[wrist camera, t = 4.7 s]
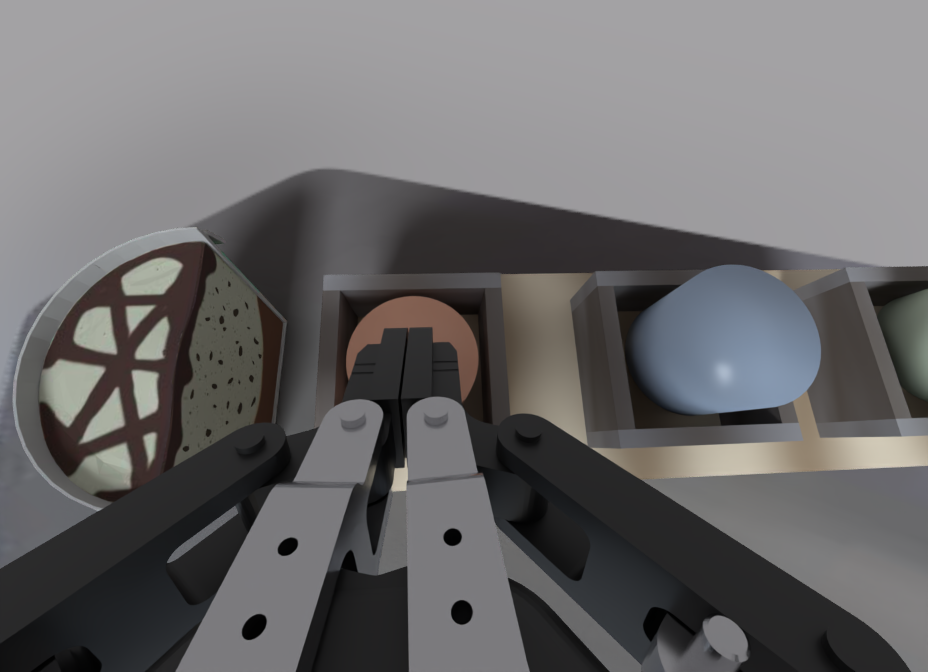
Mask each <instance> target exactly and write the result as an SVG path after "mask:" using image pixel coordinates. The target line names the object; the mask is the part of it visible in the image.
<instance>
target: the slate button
mask: <svg viewBox="0 0 928 672" xmlns="http://www.w3.org/2000/svg"><path fill="white" fill-rule="evenodd" d="M625 354H626V361H627V365H628V368H629V371H630V374H631V376H632V378H633V380H634V381H635V383H636V384H637V386H638V387H639V389H640V390H641V391H642V392H643V393H644V394H645V395H646V396H647V397H648V398H649V399H650V400H651V401H653V402H654V403H655V404H657V405H658V406H660V407H662V408H663V409H666V410H668V411H670V412H673V413H676V414H680V415H686V416H697V415H706V414H715V413H725V412H734V411H743V410H752V409H761V408H770V407H777V406H781V405H785V404H787V403H789V402H792V401H794V400H795V399H797V398H798V397H800V396H801V395H802V394H803V393H804V392H805V391H807V389H808V388H809V387H810V386H811V384H812V383H813V381H814V379H815V377H816V375H817V372H818V369H819V366H820V360H821V344H820V338H819V333H818V330H817V327H816V324H815V321H814V319H813V317H812V315H811V313H810V312H809V310H808V309H807V307H806V305H805V304H804V303H803V301H802V300H801V299H800V298H799V296H798V295H797V294H796V293H795V292H794V291H793V290H792V289H791V288H789V287H788V286H787V285H786V284H785V283H783V282H782V281H780V280H779V279H777V278H776V277H774V276H772V275H770V274H768V273H766V272H764V271H762V270H759V269H756V268H753V267H749V266H743V265H721V266H716V267H712V268H710V269H707V270H705V271H703V272H701V273H699V274H698V275H696V276H695V277H693V278H692V279H690V280H689V281H687V282H686V283H684V284H683V285H681V286H680V287H678V288H677V289H675V290H674V291H672V292H671V293H669V294H668V295H666V296H665V297H663V298H662V299H660V300H659V301H657V302H656V303H654V304H653V305H651V306H650V307H648V308H646V309H645V310H644V311H642V312H641V313H640V314H639V315H638V316H637V317H636V318H635V320H634V321H633V323H632V324H631V326H630V328H629V331H628V334H627V337H626V343H625Z"/></svg>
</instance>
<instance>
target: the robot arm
mask: <svg viewBox="0 0 928 672" xmlns="http://www.w3.org/2000/svg"><path fill="white" fill-rule="evenodd" d="M405 458H406V459H407V468H408V481H407V484H406V497H407V566H406V567H403V568H400V569H397V570H394V571H391V572H388V573H385V574H381V575H378V569H379V562H380V557H381V552H382V547H383V542H384V537H385V531H386V526H387V521H388V516H389V511H390V506H391V501H392V496H393V490H392V485H393V480H394V471H395V468H405ZM234 506H236V508H237V510H238V514H237V515H236V516H234V517H233V518H232V519H230V520H229V521H228V522H226V523H225V524H224V525H222V526H221V527H220V528H218V529H217V530H216V531H214V532H213V533H212V534H210V535H209V536H208V537H206V538H205V539H204V540H202V541H201V542H200V543H198V544H197V545H196V546H194V547H193V548H192V549H190V550H189V551H188V552H186V553H185V554H184V555H182V556H181V557H180V558H178V559H176V560H175V561H173V562H170V563H167V561H168V559H169V557H170V556H171V554H172V553H173V552H174V551H175V550H176V549H177V548H178V547H179V546H180V545H182V544H183V543H184V542H186V541H187V540H188V539H190V538H191V537H193V536H194V535H195V534H197V533H198V532H199V531H201V530H202V529H203V528H205V527H206V526H208V525H209V524H210V523H212V522H213V521H214V520H216V519H217V518H219V517H220V516H221V515H223V514H224V513H225V512H227V511H228V510H230V509H231V508H232V507H234ZM495 523H496V525H497V526H498V527H499V529H500V530H501V531H502V532H504V533H505V534H506V535H507V536H508V537H509V538H510V539H511V540H512V541H513V542H514V543H515V544H516V545H517V546H518V547H519V548H520V549H521V550H522V551H523V552H524V553H525V554H526V555H527V556H529V557H530V558H531V559H532V560H533V561H534V562H535V563H536V564H537V565H538V566H539V567H540V568H541V569H542V570H543V571H544V572H545V573H546V574H547V575H548V576H549V577H550V578H551V579H552V580H554V581H555V582H556V583H557V584H558V585H559V586H560V587H561V588H562V589H563V590H564V591H565V592H566V593H567V594H568V595H569V596H570V597H571V598H572V599H573V600H574V601H575V602H576V603H578V604H579V605H580V606H581V607H582V608H583V609H584V610H585V611H586V612H587V613H588V614H589V615H590V616H591V617H592V618H593V619H594V620H595V621H596V622H597V623H598V624H599V625H600V626H601V627H603V628H604V629H605V630H606V631H607V632H608V633H609V634H610V635H611V636H612V637H613V638H614V639H615V640H616V641H617V642H618V643H619V644H620V645H621V646H622V647H623V648H624V649H625V650H626V651H628V652H629V653H630V654H631V655H632V656H633V657H634V658H635V659H636V660H637V661H638V662H639V663H640V664H641V665H642V668H641V672H911V671H910V670H909V668H908V667H907V665H906V664H905V662H904V661H903V660H902V658H901V657H900V656H899V655H898V653H897V652H896V651H895V650H894V649H893V648H892V647H891V646H890V645H889V644H888V643H887V642H886V641H885V640H884V639H883V638H882V637H881V636H880V635H879V634H878V633H877V632H875V631H874V630H873V629H872V628H870V627H869V626H868V625H867V624H865V623H864V622H862V621H861V620H859V619H858V618H857V617H855V616H853V615H852V614H850V613H849V612H847V611H846V610H844V609H842V608H841V607H839V606H838V605H836V604H835V603H833V602H832V601H830V600H828V599H827V598H825V597H824V596H822V595H821V594H819V593H817V592H816V591H814V590H813V589H811V588H810V587H808V586H806V585H805V584H803V583H802V582H800V581H799V580H797V579H795V578H794V577H792V576H791V575H789V574H788V573H786V572H785V571H783V570H781V569H780V568H778V567H777V566H775V565H774V564H772V563H770V562H769V561H767V560H766V559H764V558H763V557H761V556H759V555H758V554H756V553H755V552H753V551H752V550H750V549H748V548H747V547H745V546H744V545H742V544H741V543H739V542H738V541H736V540H734V539H733V538H731V537H730V536H728V535H727V534H725V533H723V532H722V531H720V530H719V529H717V528H716V527H714V526H712V525H711V524H709V523H708V522H706V521H705V520H703V519H701V518H700V517H698V516H697V515H695V514H694V513H692V512H691V511H689V510H687V509H686V508H684V507H683V506H681V505H680V504H678V503H676V502H675V501H673V500H672V499H670V498H669V497H667V496H665V495H664V494H662V493H661V492H659V491H658V490H656V489H654V488H653V487H651V486H650V485H648V484H647V483H645V482H644V481H642V480H640V479H639V478H637V477H636V476H634V475H633V474H631V473H629V472H628V471H626V470H625V469H623V468H622V467H620V466H618V465H617V464H615V463H614V462H612V461H611V460H609V459H607V458H606V457H604V456H603V455H601V454H600V453H598V452H597V451H595V450H593V449H592V448H590V447H589V446H587V445H586V444H584V443H582V442H581V441H579V440H578V439H576V438H575V437H573V436H571V435H570V434H568V433H567V432H565V431H564V430H562V429H560V428H559V427H557V426H556V425H554V424H553V423H551V422H550V421H548V420H546V419H544V418H543V417H540V416H537V415H534V414H526V413H521V414H514V415H511V416H509V417H507V418H505V419H504V420H503V421H502V422H501V423H500V425H499V426H498V425H493V424H488V423H484V422H481V421H478V420H476V419H475V418H473V417H471V416H470V415H469V414H468V413H467V412H466V411H465V409H464V408H463V405H462V398H461V387H460V377H459V367H458V356H457V350H456V349H455V348H454V347H453V345H452V344H451V343H450V342H433V328H432V327H412V328H409V331H408V328H384V331H383V335H382V339H381V343H380V344H367V345H366V346H365V347H364V348H363V349H362V350H361V351H360V352H359V353H358V354H357V357H356V360H355V363H354V366H353V369H352V372H351V375H350V378H349V381H348V384H347V387H346V390H345V394H344V397H343V400H342V403H341V404H338V405H336V406H335V407H333V408H332V409H331V410H330V411H328V413H327V414H326V415H325V417H324V418H323V421H322V423H321V425H320V426H319V427H317V428H315V429H312V430H309V431H305V432H301V433H298V434H294V435H290V436H286V434H285V431H284V430H283V428H282V427H280V426H279V425H277V424H274V423H255V424H251V425H248V426H245V427H242V428H240V429H238V430H236V431H234V432H232V433H231V434H229V435H227V436H225V437H224V438H222V439H220V440H219V441H217V442H215V443H214V444H212V445H210V446H208V447H207V448H205V449H203V450H202V451H200V452H198V453H197V454H195V455H193V456H191V457H190V458H188V459H186V460H185V461H183V462H181V463H180V464H178V465H176V466H174V467H173V468H171V469H169V470H168V471H166V472H164V473H163V474H161V475H159V476H157V477H156V478H154V479H152V480H151V481H149V482H147V483H146V484H144V485H142V486H140V487H139V488H137V489H135V490H134V491H132V492H130V493H128V494H127V495H125V496H123V497H122V498H120V499H118V500H117V501H115V502H113V503H111V504H110V505H108V506H106V507H105V508H103V509H101V510H100V511H98V512H96V513H94V514H93V515H91V516H89V517H88V518H86V519H84V520H83V521H81V522H79V523H77V524H76V525H74V526H72V527H71V528H69V529H67V530H66V531H64V532H62V533H60V534H59V535H57V536H55V537H54V538H52V539H50V540H49V541H47V542H45V543H43V544H42V545H40V546H38V547H37V548H35V549H33V550H32V551H30V552H28V553H26V554H25V555H23V556H21V557H20V558H18V559H16V560H15V561H13V562H11V563H9V564H8V565H6V566H4V567H3V568H1V569H0V672H609V671H608V669H607V668H606V667H605V666H604V665H603V664H602V663H601V662H600V661H599V660H598V659H597V658H596V656H595V655H594V654H593V653H592V652H591V651H590V650H589V649H588V648H587V647H586V646H585V644H584V643H583V642H582V641H581V640H580V639H579V638H578V637H577V636H576V635H575V634H574V633H573V631H572V630H571V629H570V628H569V627H568V626H567V625H566V624H565V623H564V622H563V621H562V619H561V618H560V617H559V616H558V615H557V614H556V613H555V612H554V611H553V610H552V609H551V608H550V607H549V606H548V605H547V604H546V603H545V602H544V601H543V600H542V599H541V598H540V597H538V596H537V595H536V594H535V593H534V592H532V591H531V590H529V589H528V588H526V587H525V586H523V585H522V584H520V583H518V582H516V581H514V580H512V579H510V578H507V573H506V569H505V565H504V560H503V556H502V552H501V547H500V543H499V539H498V534H497V530H496V526H495Z"/></svg>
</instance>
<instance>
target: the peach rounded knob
mask: <svg viewBox="0 0 928 672" xmlns="http://www.w3.org/2000/svg"><path fill="white" fill-rule="evenodd" d="M412 327H432V328H433V342H450V343H451V344H452V345H453V347H454V348H455V349H456V350H457V356H458V367H459V377H460V387H461V398H462V405H463V403H464V401H465V400H466V398H467V396H468V394H469V392H470V390H471V388H472V386H473V383H474V381H475V378H476V374H477V370H478V348H477V344H476V340H475V337H474V335H473V332H472V330H471V329H470V327H469V325H468V324H467V322H466V321H465V320H464V318H463V317H462V316H461V315H460V314H459V313H458V312H456V311H455V310H454V309H453V308H451V307H450V306H448V305H446V304H445V303H442V302H440V301H438V300H435V299H431V298H427V297H421V296H407V297H401V298H396V299H393V300H390V301H387V302H385V303H383V304H381V305H379V306H378V307H376V308H375V309H373V310H372V311H371V312H369V313H368V314H367V315H366V316H365V317H364V318H363V319H362V320H361V322H360V323H359V324H358V326H357V327H356V329H355V331H354V332H353V334H352V336H351V339H350V342H349V345H348V349H347V355H346V370H347V376H348V379H349V378H350V375H351V372H352V369H353V366H354V363H355V360H356V357H357V354H358V353H359V352H360V351H361V350H362V349H363V348H364V347H365V346H366V345H367V344H380V343H381V339H382V335H383V331H384V328H408V331H409V328H412Z"/></svg>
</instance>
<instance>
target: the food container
mask: <svg viewBox="0 0 928 672" xmlns="http://www.w3.org/2000/svg"><path fill="white" fill-rule="evenodd" d="M215 244H225V240H224V239H223V238H221V237H219V236H217V235H215V234H214V233H212V232H210V231H208V230H200V229H199V228H198V227H191V228H176V229H170V230H165V231H160V232H155V233H151V234H148V235H145V236H142V237H138V238H136V239H133V240H130V241H128V242H126V243H124V244H121V245H119V246H117V247H115V248H113V249H111V250H109V251H107V252H106V253H104V254H102V255H101V256H99V257H97V258H96V259H94V260H93V261H91V262H90V263H88V264H87V265H86V266H85V267H83V268H82V269H81V270H79V271H78V272H77V273H76V274H74V275H73V276H72V277H71V278H70V279H69V280H68V281H67V282H66V283H65V284H64V285H63V286H62V287H61V288H60V289H59V290H58V291H57V292H56V293H55V294H54V295H53V296H52V298H51V299H50V300H49V302H48V303H47V304H46V306H45V307H44V308H43V310H42V311H41V312H40V314H39V315H38V317H37V319H36V321H35V322H34V324H33V326H32V328H31V329H30V331H29V333H28V335H27V337H26V340H25V342H24V345H23V348H22V350H21V353H20V355H19V358H18V363H17V368H16V372H15V377H14V384H13V410H14V418H15V425H16V429H17V432H18V435H19V438H20V440H21V443H22V446H23V449H24V450H25V452H26V454H27V455H28V457H29V459H30V460H31V462H32V464H33V465H34V467H35V469H36V470H37V471H38V472H39V473H40V474H41V475H42V476H43V477H44V478H45V479H46V480H47V482H48V483H49V484H50V485H51V486H53V487H54V488H56V489H57V490H58V491H60V492H61V493H63V494H64V495H66V496H67V497H68V498H70V499H72V500H74V501H76V502H78V503H81V504H83V505H85V506H87V507H90V508H92V509H95V510H97V511H100V510H101V509H103V508H105V507H106V506H108V505H110V504H111V503H113V502H115V501H117V500H118V499H120V498H122V497H123V496H125V495H127V494H128V493H130V492H132V491H134V490H135V489H137V488H139V487H140V486H142V485H144V484H146V483H147V482H149V481H151V480H152V479H154V478H156V477H157V476H159V475H161V474H163V473H164V472H166V471H168V470H169V469H171V468H173V467H174V466H176V465H178V464H180V463H181V462H183V461H185V460H186V459H188V458H190V457H191V456H193V455H195V454H197V453H198V452H200V451H202V450H203V449H205V448H207V447H208V446H210V445H212V444H214V443H215V442H217V441H219V440H220V439H222V438H224V437H225V436H227V435H229V434H231V433H232V432H234V431H236V430H238V429H240V428H242V427H245V426H248V425H251V424H255V423H274V424H276V415H277V406H278V397H279V389H280V380H281V371H282V362H283V353H284V344H285V335H286V326H287V320H286V319H285V318H284V317H283V316H282V315H281V314H280V313H279V312H278V311H277V310H276V308H275V307H274V306H273V305H272V304H271V303H270V302H269V301H268V300H267V299H266V298H265V297H264V296H263V295H262V294H261V293H260V291H259V290H258V289H257V288H256V287H255V286H254V285H253V284H252V283H251V282H250V281H249V280H248V279H247V278H246V277H245V275H244V274H243V273H242V272H241V271H240V270H239V269H238V268H237V267H236V266H235V265H234V264H233V263H232V262H231V261H230V259H229V258H228V257H227V256H226V255H225V254H224V253H223V252H222V251H221V250H220V249H219V248H218V247H217V246H216V245H215Z"/></svg>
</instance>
